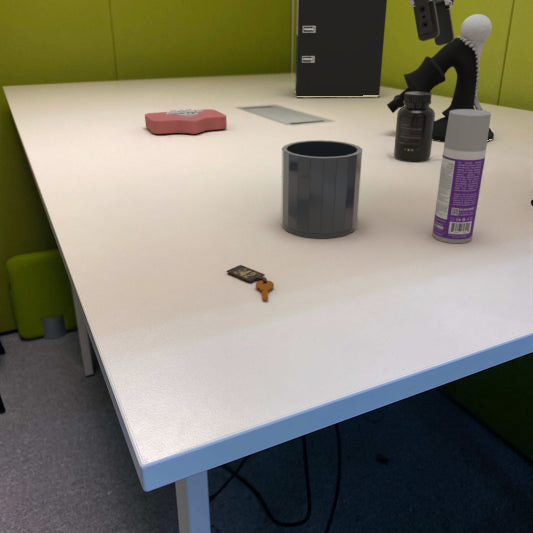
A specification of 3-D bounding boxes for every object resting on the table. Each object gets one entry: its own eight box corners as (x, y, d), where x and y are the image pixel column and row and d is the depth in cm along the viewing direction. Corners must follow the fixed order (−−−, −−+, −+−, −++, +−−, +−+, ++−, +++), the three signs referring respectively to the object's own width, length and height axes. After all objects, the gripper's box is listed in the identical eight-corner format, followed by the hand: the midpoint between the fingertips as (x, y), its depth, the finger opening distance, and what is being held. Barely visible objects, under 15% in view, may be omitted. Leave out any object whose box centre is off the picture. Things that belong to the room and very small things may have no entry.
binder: (372, 92, 193) (380, -10, 179) (379, 98, 179) (388, -12, 166) (295, 92, 193) (297, -9, 180) (296, 98, 180) (298, -11, 166)
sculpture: (500, 144, 115) (523, 13, 105) (386, 141, 118) (397, 14, 108) (484, 130, 129) (503, 13, 119) (382, 128, 132) (392, 14, 122)
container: (476, 234, 68) (496, 111, 62) (465, 246, 65) (486, 117, 59) (438, 227, 71) (455, 107, 64) (426, 238, 67) (442, 113, 61)
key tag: (224, 270, 59) (223, 265, 58) (248, 264, 60) (247, 259, 60) (264, 301, 52) (264, 295, 52) (290, 293, 54) (290, 287, 54)
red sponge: (155, 120, 120) (142, 111, 133) (157, 138, 122) (144, 127, 135) (232, 115, 127) (213, 106, 139) (233, 132, 128) (213, 122, 141)
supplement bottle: (398, 152, 109) (404, 89, 104) (433, 155, 106) (441, 91, 101) (389, 160, 103) (395, 93, 98) (425, 163, 101) (434, 96, 96)
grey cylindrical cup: (317, 207, 78) (319, 137, 74) (372, 225, 71) (378, 148, 67) (266, 223, 72) (265, 148, 68) (321, 244, 65) (324, 162, 61)
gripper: (433, -148, 53) (460, 26, 56) (459, -106, 65) (480, 35, 68) (360, -113, 57) (389, 48, 60) (398, -79, 69) (420, 53, 72)
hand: (437, 41), depth 64 cm, fingers open, 8 cm apart
